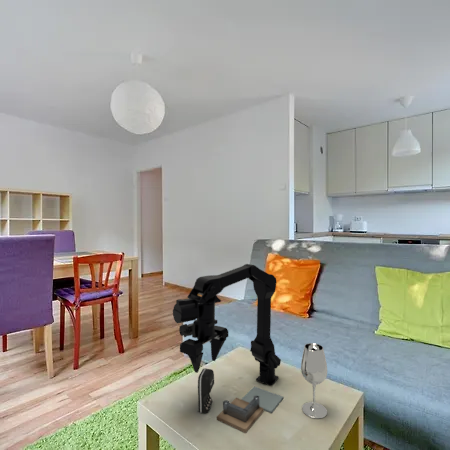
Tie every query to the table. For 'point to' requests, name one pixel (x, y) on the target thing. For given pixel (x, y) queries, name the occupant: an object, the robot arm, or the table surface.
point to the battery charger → (205, 390)
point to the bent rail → (241, 409)
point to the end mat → (264, 398)
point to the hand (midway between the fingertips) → (205, 366)
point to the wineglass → (314, 376)
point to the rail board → (238, 423)
